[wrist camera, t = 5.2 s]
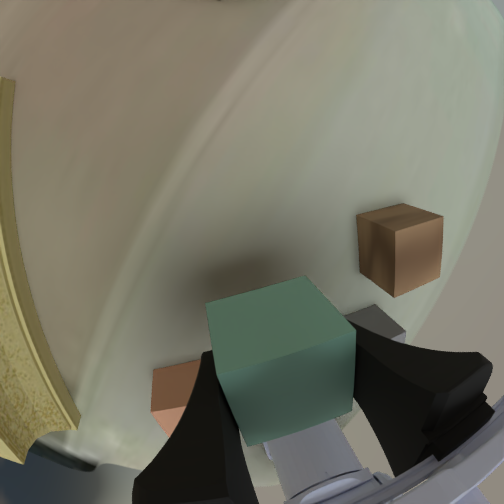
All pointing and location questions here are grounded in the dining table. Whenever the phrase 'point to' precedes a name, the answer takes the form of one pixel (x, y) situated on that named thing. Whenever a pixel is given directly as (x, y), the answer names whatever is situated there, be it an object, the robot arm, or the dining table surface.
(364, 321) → the charcoal block
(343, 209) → the dining table surface
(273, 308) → the green block
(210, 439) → the robot arm
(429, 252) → the walnut block
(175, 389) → the terracotta block
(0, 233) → the decorative clock
